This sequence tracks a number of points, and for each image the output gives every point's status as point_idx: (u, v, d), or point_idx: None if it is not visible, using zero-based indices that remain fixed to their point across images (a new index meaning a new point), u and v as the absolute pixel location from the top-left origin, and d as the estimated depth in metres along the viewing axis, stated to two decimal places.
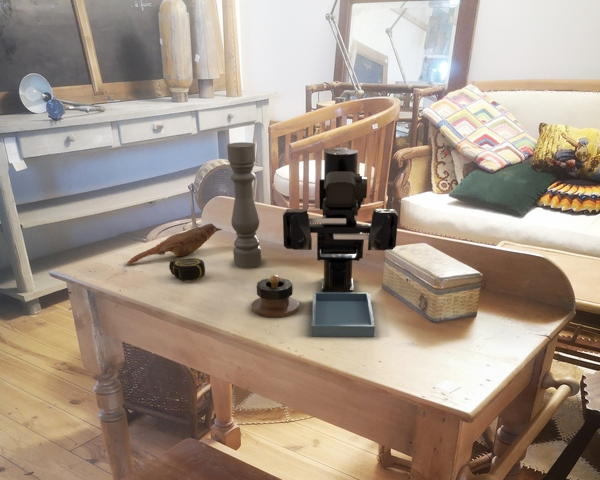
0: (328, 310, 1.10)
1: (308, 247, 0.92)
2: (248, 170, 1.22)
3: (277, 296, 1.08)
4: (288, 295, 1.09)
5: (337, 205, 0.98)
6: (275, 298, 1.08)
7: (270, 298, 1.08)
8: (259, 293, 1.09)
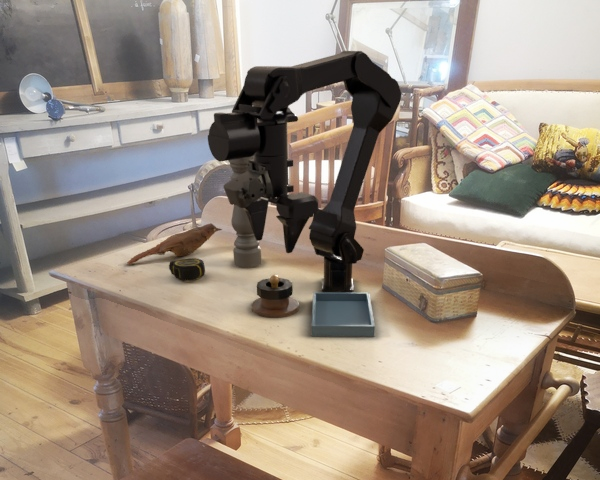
0: (328, 310, 1.10)
1: None
2: None
3: (277, 296, 1.08)
4: (288, 295, 1.09)
5: None
6: (275, 298, 1.08)
7: (270, 298, 1.08)
8: (259, 293, 1.09)
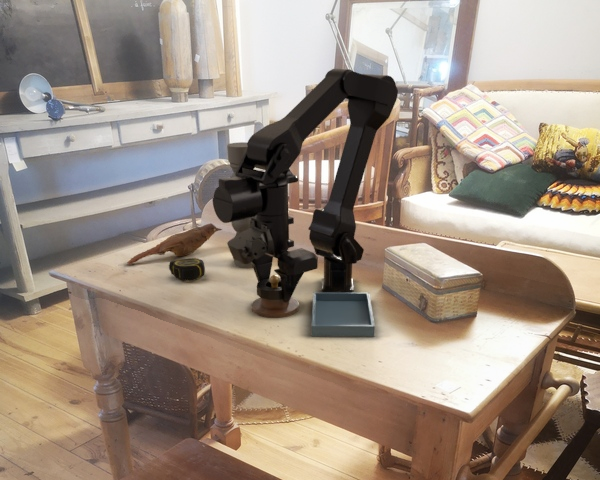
0: (328, 310, 1.10)
1: None
2: None
3: (277, 296, 1.08)
4: None
5: None
6: (275, 298, 1.08)
7: (270, 298, 1.08)
8: (259, 293, 1.09)
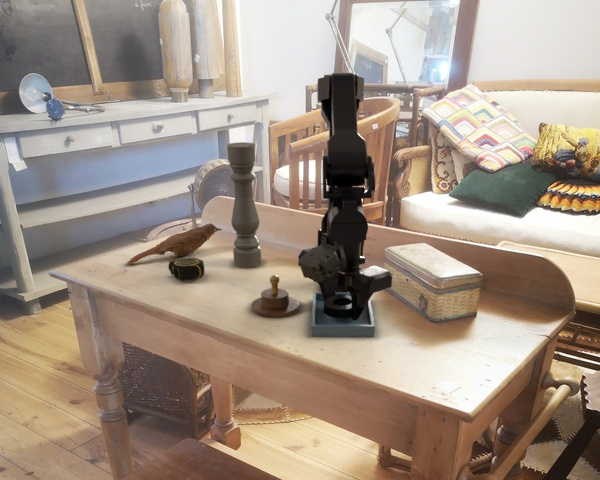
0: None
1: None
2: (248, 170, 1.22)
3: (346, 314, 1.05)
4: None
5: None
6: (344, 316, 1.05)
7: (339, 316, 1.05)
8: (327, 311, 1.06)
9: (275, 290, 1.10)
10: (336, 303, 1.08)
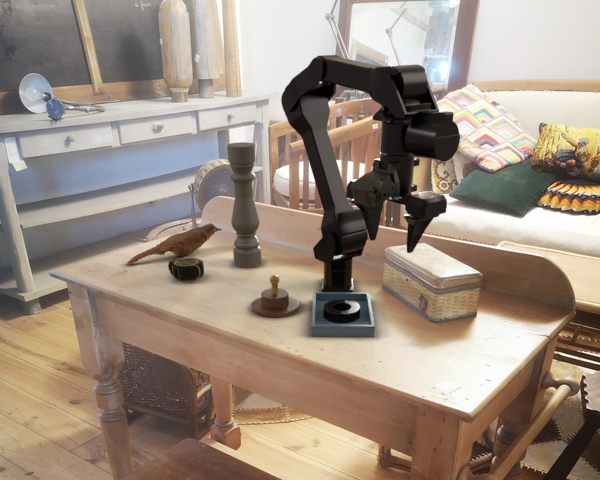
0: None
1: None
2: (248, 170, 1.22)
3: (346, 319, 1.05)
4: (356, 318, 1.06)
5: None
6: (344, 321, 1.05)
7: (338, 321, 1.05)
8: (326, 316, 1.06)
9: (275, 290, 1.10)
10: (336, 308, 1.09)
